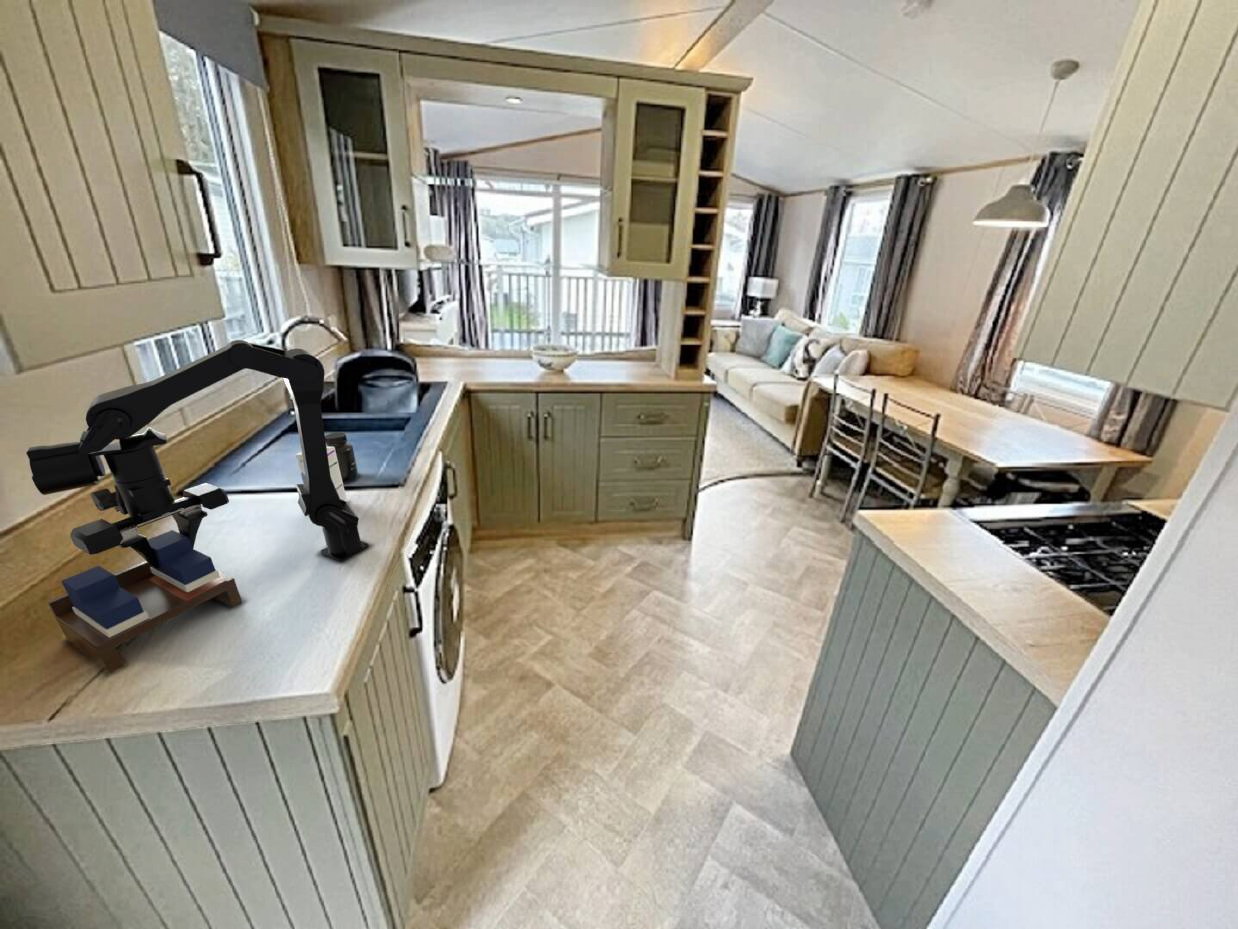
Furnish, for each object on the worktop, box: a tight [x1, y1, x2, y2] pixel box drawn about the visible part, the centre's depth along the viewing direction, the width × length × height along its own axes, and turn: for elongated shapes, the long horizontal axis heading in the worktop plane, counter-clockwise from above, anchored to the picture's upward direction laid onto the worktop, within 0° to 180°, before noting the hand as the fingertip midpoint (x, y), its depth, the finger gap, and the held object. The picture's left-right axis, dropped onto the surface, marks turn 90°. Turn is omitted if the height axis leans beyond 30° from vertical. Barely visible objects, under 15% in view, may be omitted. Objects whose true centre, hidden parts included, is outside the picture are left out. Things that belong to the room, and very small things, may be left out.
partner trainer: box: [60, 565, 149, 638], centre depth 77 cm, size 11×5×6 cm, turn 62°
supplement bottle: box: [325, 431, 359, 484], centre depth 132 cm, size 7×7×12 cm
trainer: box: [147, 529, 220, 592], centre depth 85 cm, size 11×5×6 cm, turn 62°
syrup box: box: [295, 445, 348, 503], centre depth 117 cm, size 6×6×14 cm
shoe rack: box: [46, 560, 243, 674], centre depth 83 cm, size 14×18×7 cm
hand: (173, 560), depth 86 cm, fingers closed on trainer, 4 cm apart
